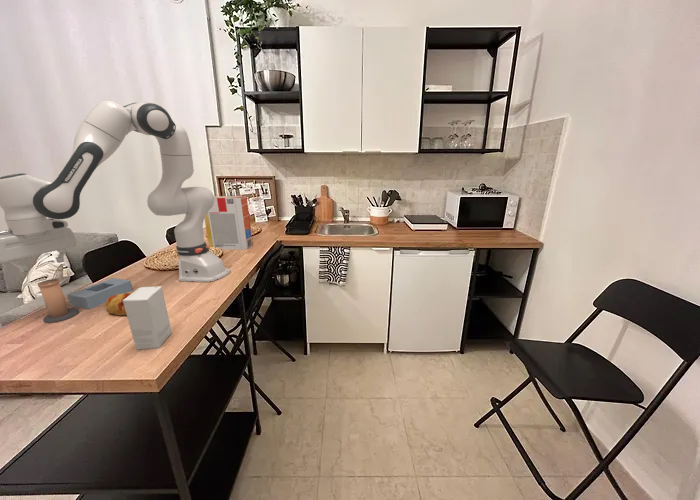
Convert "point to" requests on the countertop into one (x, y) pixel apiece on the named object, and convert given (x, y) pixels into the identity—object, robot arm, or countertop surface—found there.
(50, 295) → the orange-brown cylinder
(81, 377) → the countertop surface
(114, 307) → the croissant
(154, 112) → the robot arm
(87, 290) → the pocket block
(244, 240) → the pasta box
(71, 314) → the mat
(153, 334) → the skincare box
